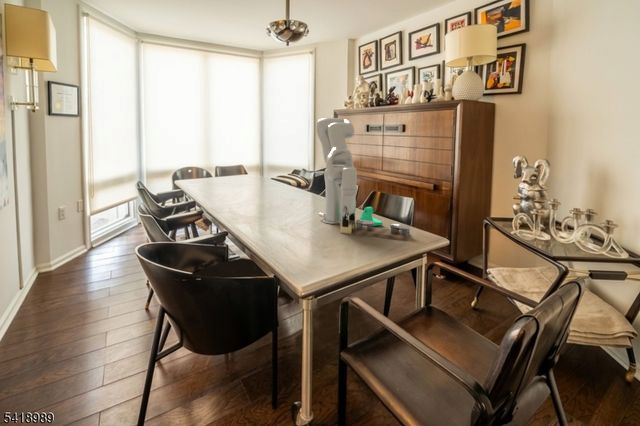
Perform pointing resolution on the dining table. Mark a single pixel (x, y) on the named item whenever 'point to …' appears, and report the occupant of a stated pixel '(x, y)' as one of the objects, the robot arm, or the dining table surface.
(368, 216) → the camera mount
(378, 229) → the shaft bed
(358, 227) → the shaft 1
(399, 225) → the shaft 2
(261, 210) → the dining table surface
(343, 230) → the gold square block
